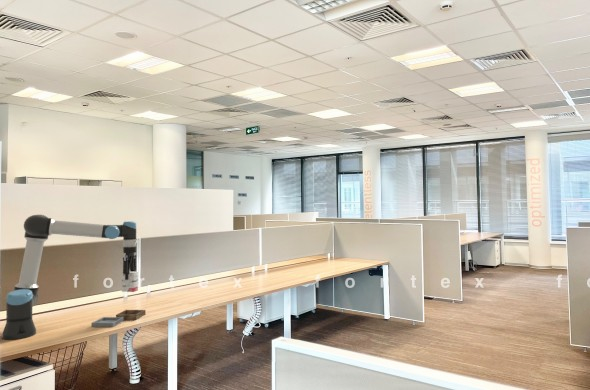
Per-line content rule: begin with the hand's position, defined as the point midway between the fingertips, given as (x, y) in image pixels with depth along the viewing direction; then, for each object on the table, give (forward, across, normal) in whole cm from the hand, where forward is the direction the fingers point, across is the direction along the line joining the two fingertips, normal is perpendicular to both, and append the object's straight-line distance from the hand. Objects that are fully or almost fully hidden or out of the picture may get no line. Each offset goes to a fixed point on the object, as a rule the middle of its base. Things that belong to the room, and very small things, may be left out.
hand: (129, 284), depth 260 cm
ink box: (+5, 0, 0) cm, 5 cm away
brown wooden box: (+21, +1, 0) cm, 21 cm away
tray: (+21, -14, +6) cm, 26 cm away
